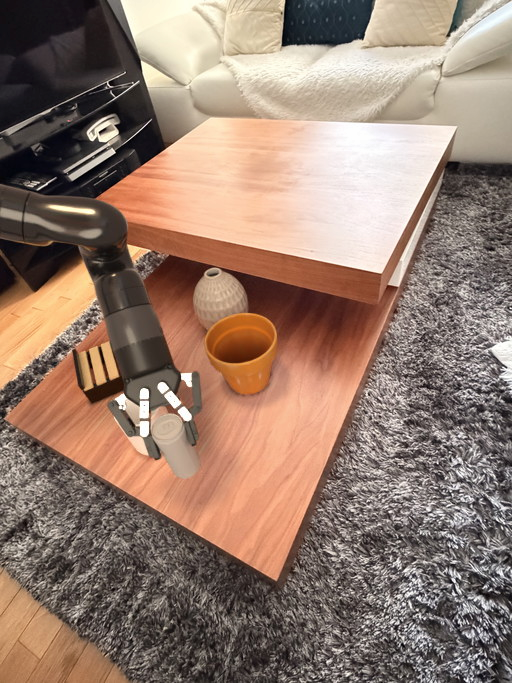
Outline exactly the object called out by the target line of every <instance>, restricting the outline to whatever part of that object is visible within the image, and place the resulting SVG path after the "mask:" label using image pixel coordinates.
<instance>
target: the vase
mask: <svg viewBox="0 0 512 683" xmlns="http://www.w3.org/2000/svg"><path fill="white" fill-rule="evenodd" d="M192 307H193V312H194V314H195V317H196V319H197V321H198V322H199V324H200V325H201V326H202V327H203V328H204V329H205V330H207V332H208V331H209V329H210V328H211V327H212V326H213V325H214V324H215V323H217V322H218V321H220V320H221V319H223V318H225V317H228V316H230V315H234V314H239V313H249V299H248V295H247V292H246V290H245V288H244V286H243V284H242V283H241V282H240V280H238V279H237V278H236V277H235V276H233V275H232V274H231V273H228V272H226V271H223V270H222V269H221V268H218V267H211V268H208V269H207V270H205V271H204V273H203V276H202V277H201V278H200V279H199V281H198V282H197V284H196V285H195V287H194V291H193V296H192Z"/></svg>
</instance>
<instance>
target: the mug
mask: <svg viewBox="0 0 512 683" xmlns="http://www.w3.org/2000/svg"><path fill="white" fill-rule="evenodd" d="M126 404H127V408H126V409H125V410H126V412H127V413H128V415H129V416H130V418H131V419H132V421H133V422H134V424H135V425H136V426H140V407H139V406H137V405H136V404H134V403H133V402H131V401H130V400H128V399H127V400H126ZM164 414H169V411H168V409H167V406H160V407H158V408H157V409H155V410H153V411H152V413H151V428H152V425H153V423H154V422H155V420H156V419H157V418H159V417H160V416H162V415H164ZM113 419H114V421H115V423H116V424H117V426H119V429H121V431H122V432H123V434H124V435H125V436H126V438H127V439H128V441H129V442H130V444H131V445H132V447H133V448H134V449H135V451H137V453H139V454H140V455H144V456H149V455H148V452H147V449H146V446H145V443H144V440H143V438H142V437H140V436H133V437H128V436H127V435H126V433H125V432H124V430H123V429H122V427H121V426H120V424H119V423H118V422H117V420H116V419H115V417H114V416H113ZM160 452H161V451H160Z"/></svg>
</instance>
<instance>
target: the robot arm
mask: <svg viewBox="0 0 512 683" xmlns="http://www.w3.org/2000/svg"><path fill="white" fill-rule="evenodd" d="M128 236H129V224H128V221H127V218H126V216H125V215H124V214H123V212H122V211H121V210H120V209H119V208H117V207H116V206H114V205H113V204H111V203H108V202H106V201H104V200H101V199H97V198H92V197H85V196H73V195H72V196H71V195H45V194H42V193H38V192H36V191H35V192H34V191H31V190H27V189H23V188H19V187H15V186H11V185H7V184H3V183H0V239H3V240H7V241H12V242H15V243H21V244H27V245H31V246H37V247H38V246H39V247H47V246H49V245H51V244H53V242H55V243H63V244H70V245H75V246H77V247H78V250H79V253H80V255H81V258H82V261H83V263H84V266H85V268H86V270H87V272H88V275H89V277H90V279H91V281H92V284H93V287H94V288H93V289H94V292H95V297H96V300H97V302H98V305H99V309H100V312H101V315H102V318H103V319H104V324H105V329H106V334H107V338H108V341H109V343H110V346H111V348H112V349H113V352H114V355H115V358H116V359H115V362H116V365H117V368H118V371H119V373H121V375H122V378H123V381H124V390H123V393H122V394H120V395H118V396H117V397H116V398H113V399H111V400H109V401H108V402H107V405H106V406H107V408H108V410H109V412H110V413H111V415H112V416H113V418H114V417H115V419H116V420H117V422H118V423H119V424H120V426H121V427H122V429H123V430H124V432H125V433H126V435H127V436H128V437H133V436H140V437H142V438H143V440H144V443H145V446H146V449H147V452H148V455H147V456H149V458H151V459H152V458H154V460H155V461H159V460H161V459H162V453H161V452H160V449H159V448H158V446H157V444H156V443H155V441H154V439H153V437H152V433H151V413H152V411H153V410H155V409H157V408H158V407H160V406H165V407H167V406H170V405H171V406H172V407H173V409H174V410H175V411H176V412H177V413H178V414H179V415H180V417H181V419H182V420H183V422H184V425H185V428H186V431H187V434H188V437H189V440H190V443H191V445H192V447H193V446H195V447H196V446H197V445H198V441H199V440H200V433H199V430H198V427H197V425H196V422H195V417H196V416H197V415H198V414H200V412H202V410H203V402H202V389H201V377H200V372H199V371H198V370H193V371H192V372H181V371H180V370H179V369H178V368H177V367H176V364H175V362H174V359H173V356H172V354H171V350H170V347H169V344H168V342H167V339H166V335H165V333H164V330H163V327H162V324H161V322H160V319H159V316H158V314H157V313H156V311H155V308H154V306H153V304H152V300H151V297H150V295H149V292H148V289H147V286H146V284H145V281H144V279H143V276H142V275H141V273H140V272H139V271H137V270H136V268H135V267H136V266H135V264H134V261H133V258H132V256H131V254H130V250H129V246H128V238H129V237H128ZM182 381H184V382H185V384H186V386H187V387H189V388H191V390H192V391H191V393H192V406H190V407H189V408H188V406H187V405H186V404H185V402H184V400H183V399H182V398H181V397H180V396H179V394H178V393H179V389H180V386H181V383H182ZM127 399H128V400H130V401H131V402H133V403H134V404H136V405H137V406H139V407H140V426H136V425H135V424H134V422H133V421H132V419H131V418H130V416H129V415H128V413H127V412H126V410H125V409H126V408H127V404H126V400H127ZM115 419H114V420H115ZM117 422H116V423H117ZM122 429H121V430H122ZM124 432H123V433H124ZM126 435H125V436H126Z"/></svg>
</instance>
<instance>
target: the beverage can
mask: <svg viewBox="0 0 512 683" xmlns="http://www.w3.org/2000/svg"><path fill="white" fill-rule="evenodd" d="M168 413H169V412H168ZM151 433H152V437H153V439H154V441H155V443H156V444H157V446H158V448H159V449H160V451H161V455H162V456H163V458H164V459H165V461H166V463H167V465H168V466H169V468H170V469H171V472H172V473H173V474H174V476H175V477H177V478H178V479H182V480H187V479H190V478H192V477H194V476H195V475H196V474H197V473H198V471H199V470H200V468H201V466H202V459H201V456H200V454H199V452H198V450H197V447H196V446H193V447H192V445H191V443H190V440H189V437H188V434H187V431H186V428H185V425H184V419H183V418H182V417H181V416H179V415H178V414H175V413H171V412H170V413H169V414H164V415H162V416H160V417H159V418H157V419H156V420H155V422H154V423H153V425H152V428H151Z"/></svg>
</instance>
